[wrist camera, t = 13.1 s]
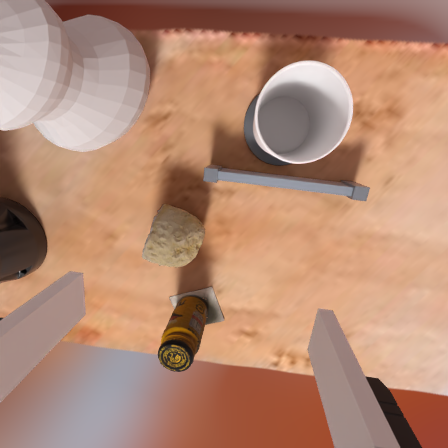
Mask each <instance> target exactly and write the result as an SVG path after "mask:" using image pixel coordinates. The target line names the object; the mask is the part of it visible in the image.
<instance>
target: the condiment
mask: <svg viewBox="0 0 448 448" xmlns="http://www.w3.org/2000/svg"><path fill="white" fill-rule="evenodd" d="M169 298H170V300H171V303H172V305H173V307H174V311H173V313H172V316H171V318H170V320H169V322H168V325H167V327H166V329H165V331H164V333H163V336H162V339H161V346H160V348H159V351H158V358H159V360H160V363H161V364H162V365H163V366H164V367H165V368H167V369H169V370H171V371H177V372H181V371H185V370H187V369H188V368H189V367H190V366H191V364H192V363H193V360H194V356H195V354H196V353H197V352H198V350H199V347H200V343H201V339H202V335H203V331H204V327H205V325H207V324H211V323H215V322H221V321H224V318H223V315H222V312H221V310H220V307H219V304H218V301H217V299H216V296H215V293H214V291H213V288H212V287H209V288H205V289H202V290H197V291H193V292H188V293H184V294H179V295H176V296H172V297H169ZM203 298H204V299H203ZM205 299H207V300H205Z"/></svg>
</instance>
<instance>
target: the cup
mask: <svg viewBox="0 0 448 448" xmlns="http://www.w3.org/2000/svg"><path fill="white" fill-rule="evenodd" d="M352 115H353V99H352V94H351V91H350V88H349V86H348V84H347V82H346V80H345V79H344V77H343V76H342V75H341V74H340V73H339V72H338V71H337V70H336V69H334V68H333V67H331V66H329V65H327V64H325V63H322V62H319V61H310V60H308V61H299V62H295V63H292V64H290V65H288V66H286V67H284V68H282V69H281V70H279V71H278V72H277V73H275V74H274V75H273V76H272V77H271V78H270V79H269V80H268V82H267V83H266V84H265V86H264V87H263V89H262V91H261V93H260V95H259V97H258V100H257V103H256V108H255V114H254V122H253V133H254V137H255V140H256V142H257V143H258V145H259V146H260V147H261V148H262V149H263V150H264V151H265V152H267V153H269V154H271V155H272V156H274V157H276V158H278V159H280V160H282V161H285V162H288V163H295V164H302V163H309V162H313V161H316V160H318V159H321V158H323V157H324V156H326V155H328V154H329V153H330V152H332V151H333V150H334V149H335V148H336V147H337V146H338V145H339V144H340V142H341V141H342V140H343V138H344V137H345V135H346V133H347V131H348V129H349V126H350V123H351V120H352Z"/></svg>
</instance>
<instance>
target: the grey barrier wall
mask: <svg viewBox="0 0 448 448" xmlns="http://www.w3.org/2000/svg"><path fill="white" fill-rule="evenodd" d="M218 180H222V181H230V182H238V183H246V184H255V185H263V186H271V187H279V188H287V189H295V190H303V191H311V192H319V193H328V194H336V195H344V196H347V197H349V198H350V199H352V200H360V201H366V200H367V196H368V193H369V189H370V188H369V187H367V186H364V185H361V184H358V183H356V182H352V181H343V180H341V182H335V181H326V180H318V179H310V178H301V177H293V176H285V175H277V174H268V173H260V172H252V171H243V170H235V169H227V168H222V166H218V165H209V166H207V167H205V168H204V180H203V181H207V182H215V183H217V181H218Z"/></svg>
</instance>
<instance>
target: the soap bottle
mask: <svg viewBox="0 0 448 448" xmlns="http://www.w3.org/2000/svg"><path fill="white" fill-rule="evenodd" d="M149 86H150V68H149V64H148V61H147V58H146V55H145V53H144V50H143V48H142V45H141V44H140V43H139V41H138V40H137V39H136V37H135V36H134V35H133V34H132V32H131V31H129V30H128V29H126V28H125V27H123V26H122V25H121V24H119V23H117V22H115V21H112V20H109V19H107V18H104V17H101V16H96V15H85V16H81V17H78V18H74V19H71V20H68V21H64V22H62V20H61V19H60V18H59V16H58V15H57V14H56V13H55V12H54V10H53V9H52V8H51V7H50V6H49V5H48V4H47V2H46V1H45V0H0V130H4V131H6V130H13V129H18V128H22V127H25V126H27V125H29V124H31V123H34V125H35V127H36V128H37V129H38V130H39V131H40V132H41V134H42V135H43V136H44V137H45V138H46V139H48V140H49V141H51V142H52V143H54V144H55V145H57V146H60V147H63V148H66V149H70V150H73V151H81V152H85V151H91V150H96V149H98V148H101V147H103V146H105V145H108V144H110V143H112V142H114V141H116V140H118V139H119V138H120V137H122V136H123V135H124V134H126V133H127V132H128V131H129V130H130V129H131V127H132V126H133V125H134V124H135V123H136V121H137V120H138V118H139V116H140V114H141V113H142V111H143V109H144V106H145V103H146V100H147V98H148V93H149Z"/></svg>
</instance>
